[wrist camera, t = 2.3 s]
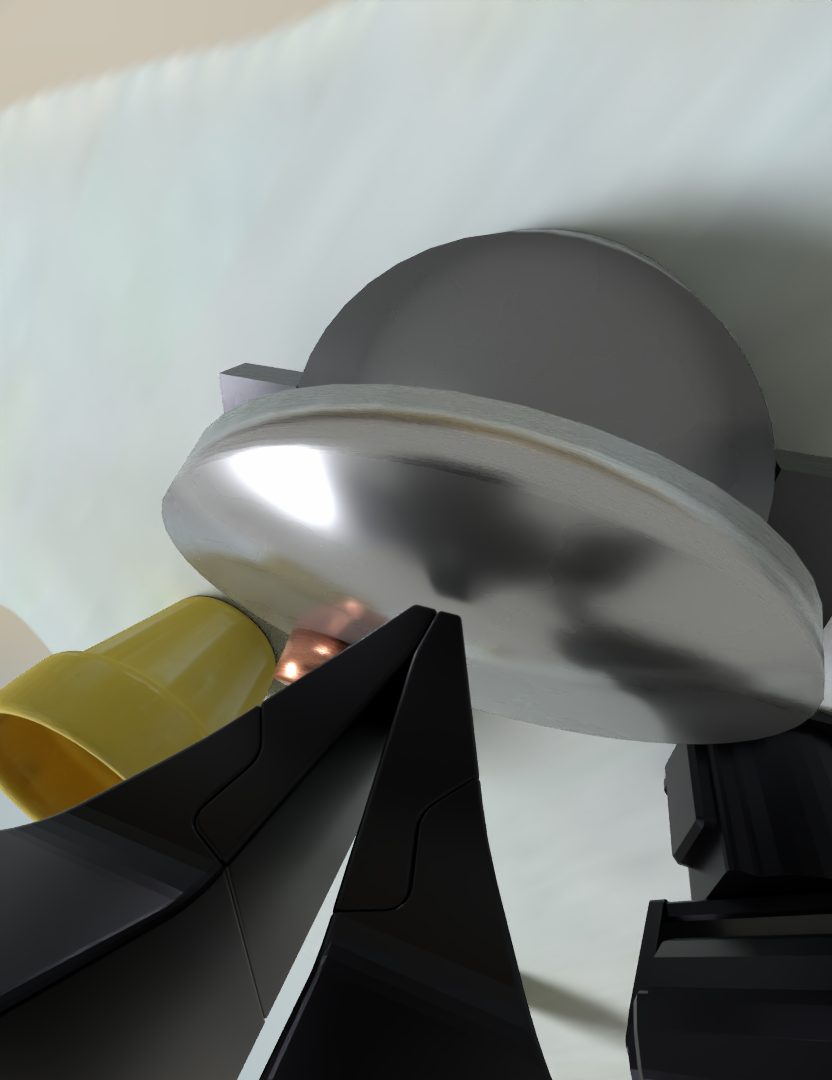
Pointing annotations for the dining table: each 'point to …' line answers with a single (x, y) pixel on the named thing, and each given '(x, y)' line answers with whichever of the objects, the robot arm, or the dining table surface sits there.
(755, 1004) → the robot arm
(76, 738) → the plant pot
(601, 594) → the cooker lid
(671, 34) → the dining table surface
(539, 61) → the dining table surface
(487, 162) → the dining table surface
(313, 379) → the cooker pot
